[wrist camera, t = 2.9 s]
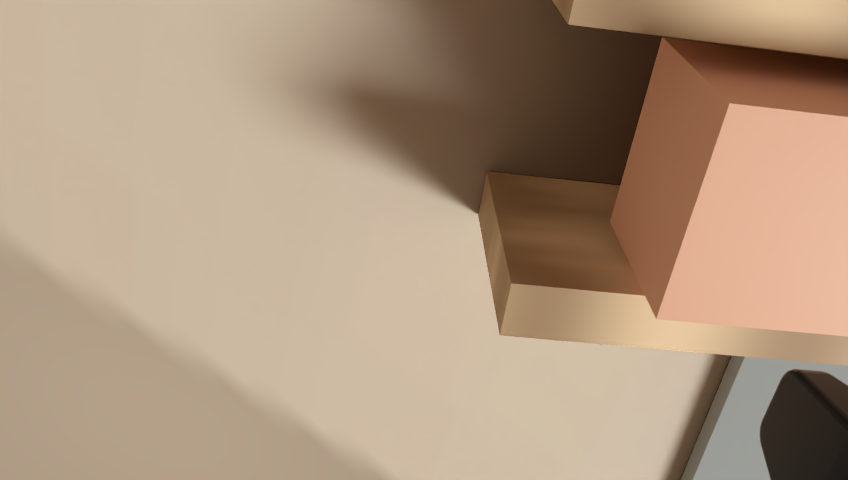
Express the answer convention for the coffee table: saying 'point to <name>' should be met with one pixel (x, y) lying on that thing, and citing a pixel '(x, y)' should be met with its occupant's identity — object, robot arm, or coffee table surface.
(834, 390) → the robot arm
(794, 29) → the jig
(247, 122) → the coffee table surface
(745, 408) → the mat
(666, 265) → the salmon orange block
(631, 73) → the coffee table surface
